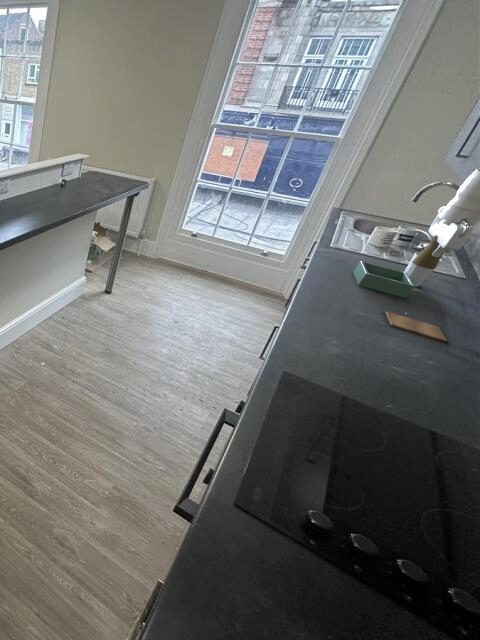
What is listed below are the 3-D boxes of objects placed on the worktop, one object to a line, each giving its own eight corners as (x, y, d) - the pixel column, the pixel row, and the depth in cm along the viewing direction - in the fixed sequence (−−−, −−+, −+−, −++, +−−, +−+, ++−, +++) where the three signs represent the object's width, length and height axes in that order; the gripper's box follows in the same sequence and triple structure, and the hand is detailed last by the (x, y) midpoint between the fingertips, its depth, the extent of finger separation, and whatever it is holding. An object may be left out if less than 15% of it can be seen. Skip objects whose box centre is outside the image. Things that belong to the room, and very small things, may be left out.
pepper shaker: (411, 264, 142) (432, 235, 136) (412, 259, 145) (432, 231, 139) (435, 270, 138) (457, 241, 132) (435, 265, 142) (457, 237, 136)
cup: (404, 285, 164) (424, 259, 158) (391, 276, 171) (410, 251, 165) (426, 288, 163) (447, 263, 157) (413, 279, 170) (432, 254, 163)
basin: (397, 283, 165) (405, 272, 162) (405, 298, 154) (414, 286, 151) (353, 272, 171) (360, 260, 169) (358, 285, 161) (366, 273, 158)
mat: (437, 328, 137) (438, 326, 137) (446, 342, 130) (447, 340, 130) (384, 312, 143) (386, 311, 143) (390, 325, 136) (391, 324, 136)
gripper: (485, 227, 123) (453, 266, 130) (464, 210, 138) (436, 247, 145) (457, 221, 126) (427, 260, 133) (439, 206, 141) (413, 241, 148)
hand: (432, 253), depth 139 cm, fingers closed on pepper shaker, 4 cm apart
